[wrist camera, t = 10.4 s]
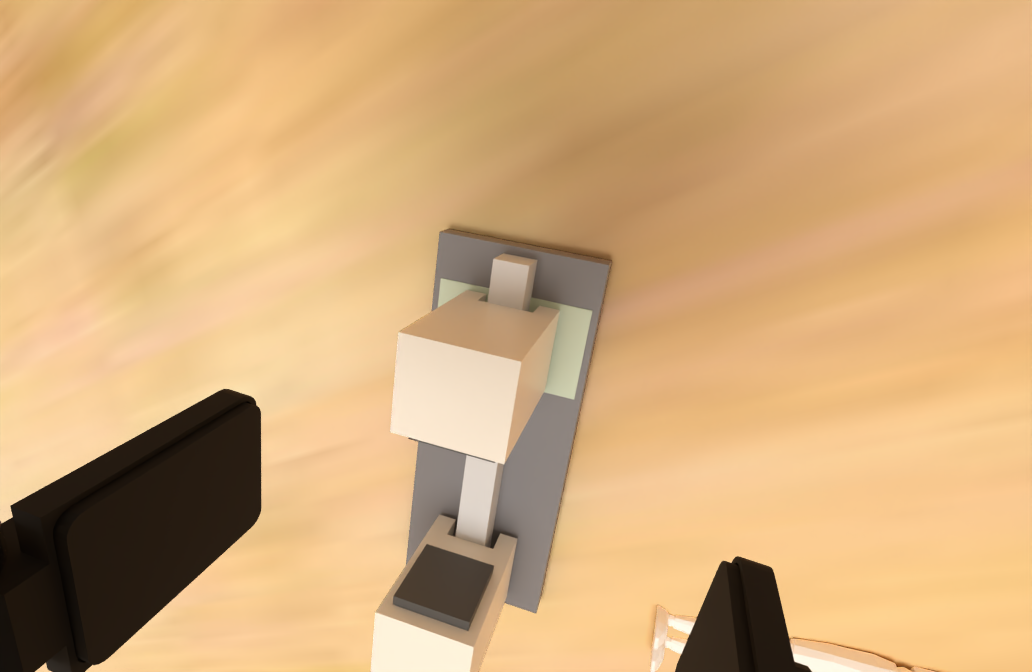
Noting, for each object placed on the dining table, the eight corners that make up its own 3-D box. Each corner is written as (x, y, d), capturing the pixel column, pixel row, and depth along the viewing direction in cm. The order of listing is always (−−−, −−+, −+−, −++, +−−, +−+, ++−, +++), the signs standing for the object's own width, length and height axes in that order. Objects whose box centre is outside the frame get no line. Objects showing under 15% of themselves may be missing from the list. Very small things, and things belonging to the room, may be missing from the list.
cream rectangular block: (467, 289, 32) (398, 331, 23) (559, 310, 31) (521, 361, 22) (456, 376, 33) (389, 443, 25) (543, 398, 32) (502, 475, 24)
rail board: (449, 228, 33) (355, 255, 23) (611, 261, 31) (586, 304, 21) (414, 556, 41) (334, 678, 31) (540, 597, 39) (498, 742, 29)
